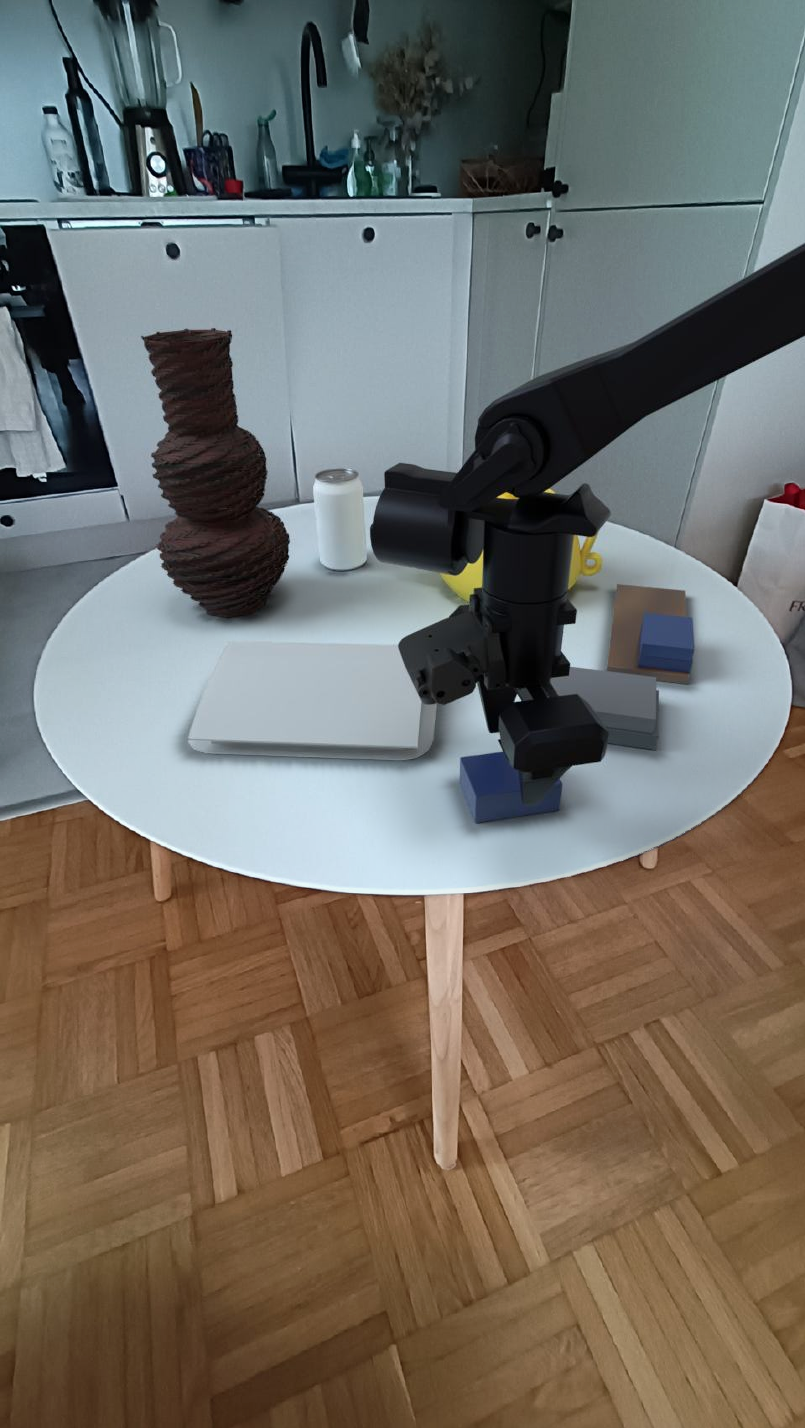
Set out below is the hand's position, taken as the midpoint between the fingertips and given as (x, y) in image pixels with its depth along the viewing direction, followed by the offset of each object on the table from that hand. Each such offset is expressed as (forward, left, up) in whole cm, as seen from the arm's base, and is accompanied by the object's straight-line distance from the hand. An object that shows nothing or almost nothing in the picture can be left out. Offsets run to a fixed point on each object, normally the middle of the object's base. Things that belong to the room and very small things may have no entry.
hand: (511, 765), depth 57 cm
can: (+30, -42, -4) cm, 52 cm away
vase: (+39, -27, -4) cm, 48 cm away
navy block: (0, 0, -3) cm, 3 cm away
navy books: (-12, -25, -3) cm, 28 cm away
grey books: (-6, -13, -3) cm, 15 cm away
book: (+20, -8, -4) cm, 22 cm away
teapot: (+8, -40, -4) cm, 41 cm away
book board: (-10, -31, -3) cm, 33 cm away
